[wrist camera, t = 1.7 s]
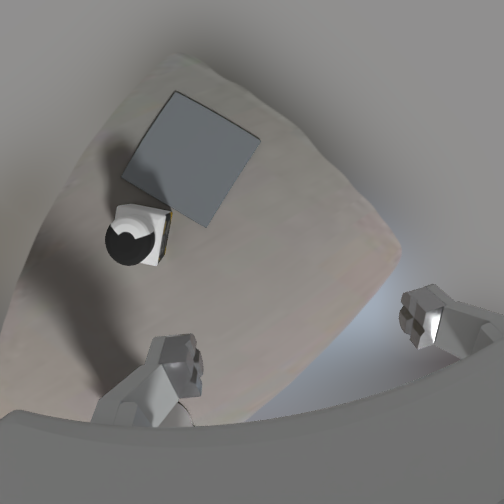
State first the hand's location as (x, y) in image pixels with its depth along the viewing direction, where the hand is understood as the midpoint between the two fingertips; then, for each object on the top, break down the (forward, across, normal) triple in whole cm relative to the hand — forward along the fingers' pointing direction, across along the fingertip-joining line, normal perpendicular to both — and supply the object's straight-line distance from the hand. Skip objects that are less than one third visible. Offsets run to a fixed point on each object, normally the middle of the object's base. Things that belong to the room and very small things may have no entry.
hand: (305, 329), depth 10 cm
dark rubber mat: (+36, -8, +6) cm, 38 cm away
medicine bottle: (+34, -17, -4) cm, 38 cm away
